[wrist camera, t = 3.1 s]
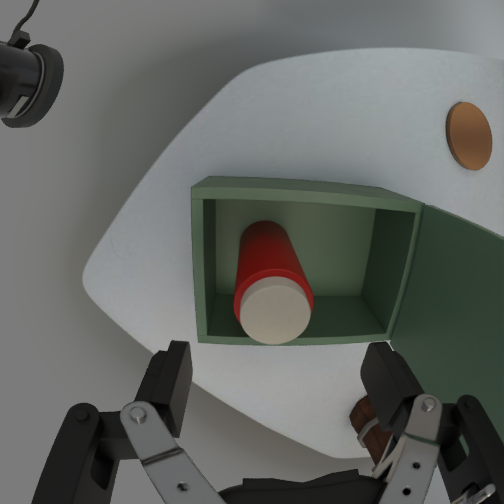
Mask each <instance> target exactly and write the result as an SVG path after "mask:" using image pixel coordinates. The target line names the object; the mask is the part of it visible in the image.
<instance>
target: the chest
mask: <svg viewBox="0 0 504 504" xmlns="http://www.w3.org/2000/svg"><path fill="white" fill-rule="evenodd" d="M424 208H425V203H423V202H420V201H417V200H415V199H412V198H409V197H406V196H404V195H401V194H398V193H395V192H392V191H389V190H386V189H383V188H378V187H370V186H362V185H353V184H343V183H333V182H322V181H310V180H296V179H280V178H259V177H224V176H209V177H207V178H205V179H203V180H202V181H200V182H198V183H197V184H195V185H193V186H192V187H191V227H192V257H193V279H194V296H195V311H196V324H197V336H198V343H211V344H230V345H269V346H290V345H328V344H348V343H362V342H375V341H386V340H391V339H392V336H393V333H394V330H395V327H396V324H397V321H398V318H399V315H400V312H401V309H402V305H403V302H404V299H405V295H406V292H407V288H408V284H409V281H410V277H411V273H412V269H413V265H414V260H415V256H416V251H417V247H418V242H419V237H420V232H421V226H422V220H423V214H424ZM265 220H266V221H272V222H275V223H277V224H279V225H280V226H282V227H283V228H284V229H285V231H286V232H287V234H288V236H289V239H290V241H291V243H292V246H293V248H294V250H295V252H296V255H297V257H298V259H299V262H300V264H301V266H302V269H303V271H304V273H305V276H306V278H307V280H308V283H309V285H310V288H311V290H312V293H313V299H314V303H313V309H312V312H311V315H310V320H309V323H308V325H307V327H306V329H305V330H304V331H303V332H302V333H301V334H300V335H299V336H298V337H296V338H295V339H293V340H291V341H289V342H286V343H282V344H264V343H261V342H258V341H256V340H254V339H253V338H251V337H250V336H249V335H248V334H247V333H246V332H245V331H244V329H243V327H242V325H241V324H240V322H239V321H238V319H237V318H236V315H235V312H234V306H233V303H234V292H235V283H236V273H237V264H238V254H239V245H240V239H241V236H242V234H243V232H244V231H245V229H246V228H247V227H248V226H250V225H251V224H253V223H255V222H258V221H265Z"/></svg>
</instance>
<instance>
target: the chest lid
mask: <svg viewBox="0 0 504 504" xmlns="http://www.w3.org/2000/svg"><path fill="white" fill-rule="evenodd" d="M390 345H391V346H392V348H393V349H394V351H396V352H397V353H399V354H400V355H401V356H402V357H404V359H405V361H406V362H407V364H408V366H409V367H410V369H411V370H412V372H413V374H414V375H415V377H416V378H417V380H418V382H419V383H420V385H421V387H422V388H423V390H424V392H425V393H429V394H432V395H435V396H436V397H438V398H439V400H440V401H441V403H456V402H457V400H458V399H459V397H460V396H462V395H465V394H468V395H472V396H474V397H476V398H477V399H478V400H479V402H480V403H481V405H482V407H483V408H484V410H485V412H486V413H487V415H488V417H489V419H490V420H491V422H492V424H493V426H494V427H495V429H496V431H497V433H498V435H499V437H500V439H501V440H502V442H503V444H504V237H503V236H501V235H499V234H497V233H494V232H492V231H490V230H488V229H486V228H484V227H482V226H480V225H478V224H475V223H473V222H471V221H469V220H466V219H464V218H462V217H459V216H457V215H455V214H452V213H450V212H448V211H445V210H443V209H440V208H438V207H435V206H433V205H425V208H424V214H423V221H422V226H421V232H420V237H419V242H418V247H417V252H416V256H415V260H414V265H413V269H412V273H411V277H410V281H409V284H408V288H407V292H406V295H405V299H404V302H403V305H402V309H401V312H400V315H399V318H398V321H397V324H396V327H395V330H394V333H393V336H392V339H391V341H390ZM459 439H460V442H461V444H462V446H463V448H464V450H465V453H466V455H467V457H468V454H469V449H468V446H467V444H466V442H465V440H464V438H463V435H462V436H461V437H460V438H459Z"/></svg>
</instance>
